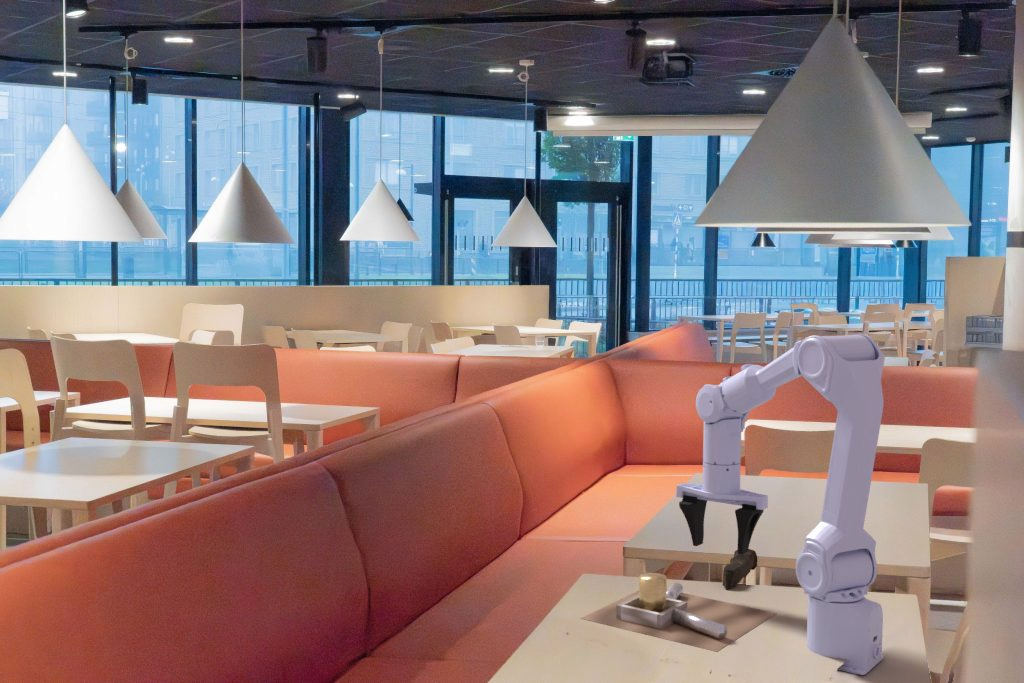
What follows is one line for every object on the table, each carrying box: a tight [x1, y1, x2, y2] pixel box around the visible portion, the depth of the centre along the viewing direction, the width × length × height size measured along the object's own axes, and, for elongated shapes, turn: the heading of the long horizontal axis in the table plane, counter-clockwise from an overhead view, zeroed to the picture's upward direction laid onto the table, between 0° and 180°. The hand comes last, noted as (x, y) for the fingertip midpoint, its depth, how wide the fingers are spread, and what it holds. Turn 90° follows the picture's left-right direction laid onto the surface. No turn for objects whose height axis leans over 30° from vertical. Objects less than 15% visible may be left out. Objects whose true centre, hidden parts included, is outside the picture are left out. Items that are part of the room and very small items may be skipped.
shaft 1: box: [666, 582, 684, 600], centre depth 164 cm, size 8×2×2 cm, turn 158°
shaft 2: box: [671, 609, 727, 640], centre depth 152 cm, size 9×2×2 cm, turn 38°
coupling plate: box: [580, 590, 778, 653], centre depth 158 cm, size 22×20×4 cm
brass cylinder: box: [638, 572, 668, 613], centre depth 158 cm, size 4×4×6 cm
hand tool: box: [722, 548, 758, 591], centre depth 180 cm, size 19×4×5 cm, turn 156°
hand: (720, 548), depth 166 cm, fingers open, 7 cm apart
